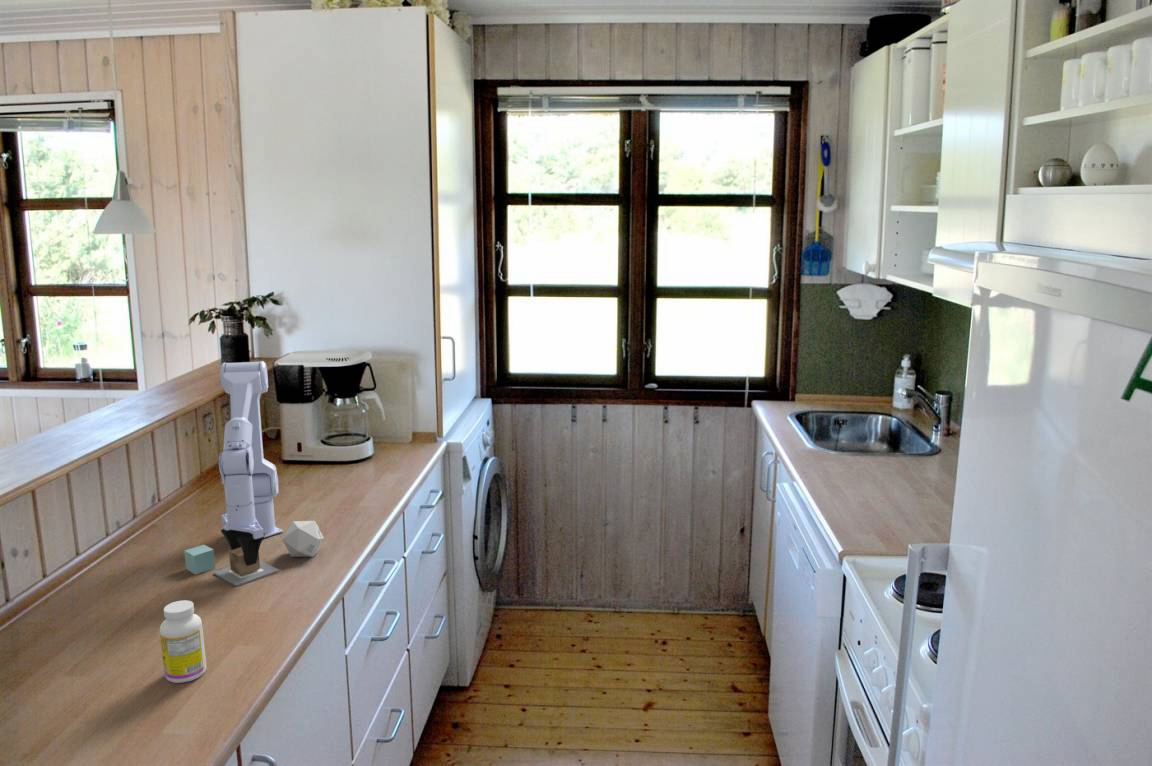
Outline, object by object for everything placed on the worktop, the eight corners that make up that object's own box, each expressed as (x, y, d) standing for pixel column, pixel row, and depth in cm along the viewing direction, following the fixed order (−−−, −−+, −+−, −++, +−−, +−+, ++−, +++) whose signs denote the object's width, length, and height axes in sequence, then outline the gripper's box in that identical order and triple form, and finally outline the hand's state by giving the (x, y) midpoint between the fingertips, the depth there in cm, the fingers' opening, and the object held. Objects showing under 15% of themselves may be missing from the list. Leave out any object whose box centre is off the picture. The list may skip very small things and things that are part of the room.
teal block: (186, 569, 191) (184, 550, 190) (205, 563, 194) (203, 544, 193) (195, 574, 188) (193, 555, 187) (215, 568, 192) (213, 549, 191)
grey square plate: (213, 573, 188) (213, 571, 188) (255, 559, 196) (255, 557, 196) (236, 586, 182) (236, 584, 182) (279, 571, 189) (278, 569, 189)
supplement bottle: (173, 664, 151) (166, 598, 149) (212, 663, 152) (205, 596, 149) (158, 685, 145) (150, 616, 142) (199, 683, 145) (191, 614, 143)
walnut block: (230, 570, 188) (228, 551, 188) (249, 563, 192) (247, 544, 191) (241, 575, 186) (239, 556, 185) (260, 568, 189) (258, 549, 188)
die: (301, 567, 193) (325, 530, 194) (270, 547, 194) (294, 511, 195) (312, 565, 201) (335, 530, 202) (282, 546, 202) (304, 511, 203)
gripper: (206, 499, 187) (211, 557, 190) (239, 515, 178) (245, 575, 181) (236, 491, 192) (241, 548, 195) (270, 506, 183) (275, 565, 186)
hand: (245, 560), depth 188 cm, fingers open, 5 cm apart
